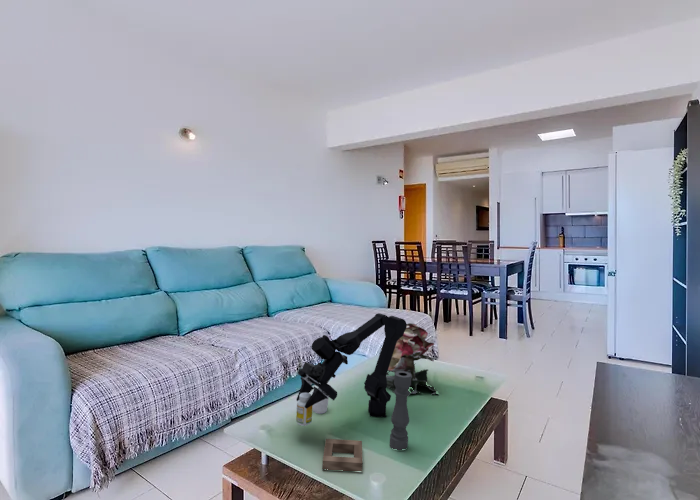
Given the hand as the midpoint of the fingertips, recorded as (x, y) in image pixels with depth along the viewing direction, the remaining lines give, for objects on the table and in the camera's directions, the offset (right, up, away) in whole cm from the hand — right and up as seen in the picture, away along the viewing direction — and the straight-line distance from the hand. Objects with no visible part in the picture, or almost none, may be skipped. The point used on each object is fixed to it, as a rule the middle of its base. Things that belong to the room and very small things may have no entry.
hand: (301, 404), depth 131 cm
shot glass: (+5, -11, +22) cm, 25 cm away
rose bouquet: (+43, -12, +51) cm, 68 cm away
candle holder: (+33, -14, 0) cm, 36 cm away
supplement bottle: (+1, -7, +1) cm, 7 cm away
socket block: (+14, -14, -10) cm, 22 cm away
